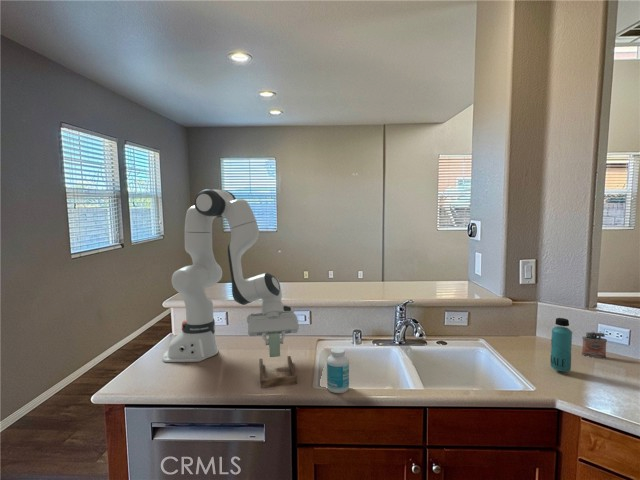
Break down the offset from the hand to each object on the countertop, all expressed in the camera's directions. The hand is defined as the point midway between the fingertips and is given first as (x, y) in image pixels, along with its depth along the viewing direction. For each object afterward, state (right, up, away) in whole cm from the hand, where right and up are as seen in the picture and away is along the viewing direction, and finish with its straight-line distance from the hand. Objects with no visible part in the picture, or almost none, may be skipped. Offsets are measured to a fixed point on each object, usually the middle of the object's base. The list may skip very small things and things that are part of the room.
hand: (274, 343), depth 139 cm
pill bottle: (+24, -10, -18) cm, 31 cm away
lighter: (+129, -7, +6) cm, 130 cm away
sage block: (0, -5, +1) cm, 5 cm away
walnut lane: (+1, -10, -5) cm, 11 cm away
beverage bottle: (+106, -8, -8) cm, 107 cm away
